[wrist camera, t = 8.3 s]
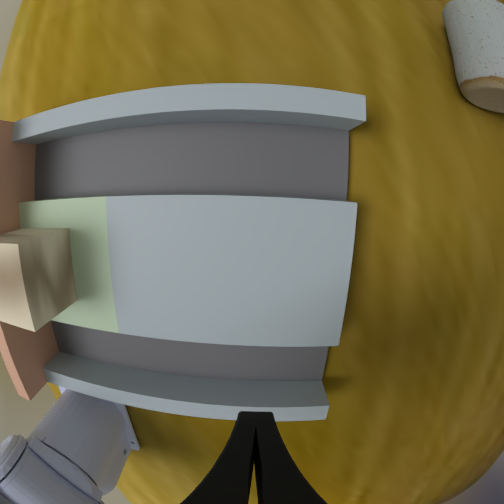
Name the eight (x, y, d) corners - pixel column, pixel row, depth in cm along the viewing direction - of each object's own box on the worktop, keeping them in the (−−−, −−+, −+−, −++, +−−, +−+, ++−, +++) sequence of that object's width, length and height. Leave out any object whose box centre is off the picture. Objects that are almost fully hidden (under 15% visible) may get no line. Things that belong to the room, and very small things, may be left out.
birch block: (77, 300, 17) (35, 332, 12) (31, 292, 17) (-10, 317, 12) (69, 227, 15) (17, 243, 11) (22, 228, 15) (-25, 242, 11)
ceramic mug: (441, 98, 15) (508, 75, 8) (425, 17, 13) (473, -20, 6) (515, 130, 15) (571, 127, 8) (502, 58, 13) (549, 42, 6)
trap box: (317, 390, 21) (333, 449, 14) (55, 358, 21) (19, 395, 15) (346, 110, 16) (388, 78, 10) (30, 130, 16) (-25, 123, 10)
